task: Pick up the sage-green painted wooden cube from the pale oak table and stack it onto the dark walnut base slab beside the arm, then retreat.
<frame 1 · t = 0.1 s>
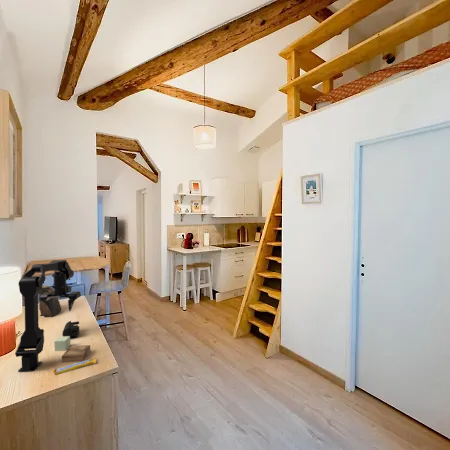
hand: (61, 311, 146), 15 cm above the table, fingers open, 9 cm apart
owl: (51, 314, 181), on the table
block: (62, 348, 135), on the table
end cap: (71, 336, 149), on the table
base: (76, 356, 128), on the table
candy bar: (75, 368, 119), on the table
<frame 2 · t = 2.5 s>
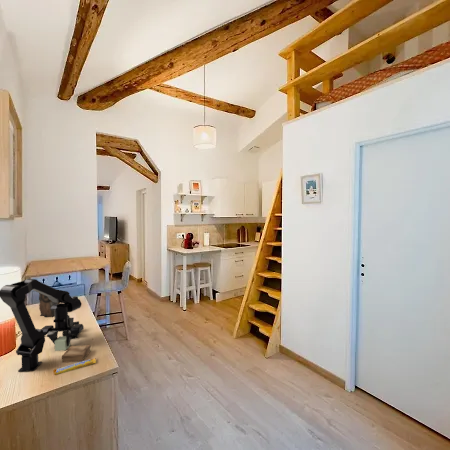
hand: (62, 346, 135), 1 cm above the table, fingers closed on block, 5 cm apart
block: (62, 348, 135), on the table, touching gripper
everything else where it was.
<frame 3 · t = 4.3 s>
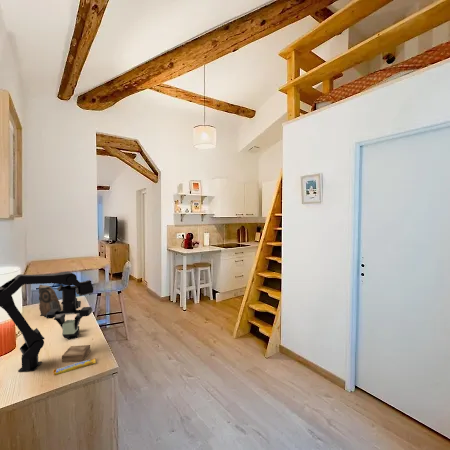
hand: (70, 329, 130), 12 cm above the table, fingers closed on block, 5 cm apart
block: (70, 331, 130), point 10 cm above the table, touching gripper
everything else where it was.
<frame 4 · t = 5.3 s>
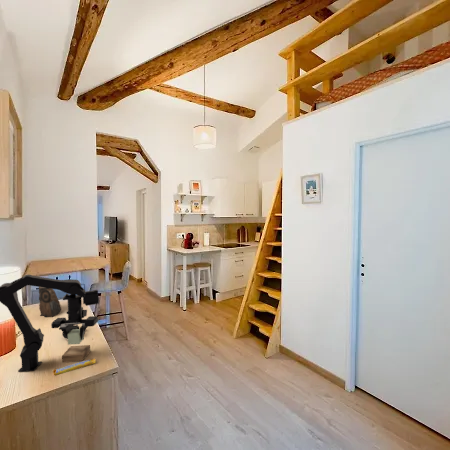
hand: (75, 339, 127), 8 cm above the table, fingers closed on block, 5 cm apart
block: (76, 341, 127), point 7 cm above the table, touching gripper
everything else where it was.
when the fingers open (5 cm above the table, at t = 6.1 s): block drops 1 cm, resting on base.
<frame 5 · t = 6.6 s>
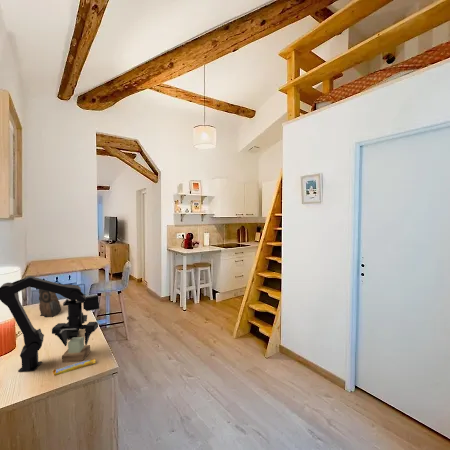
hand: (76, 345, 127), 5 cm above the table, fingers open, 9 cm apart
block: (76, 350, 128), point 3 cm above the table, touching base
everything else where it was.
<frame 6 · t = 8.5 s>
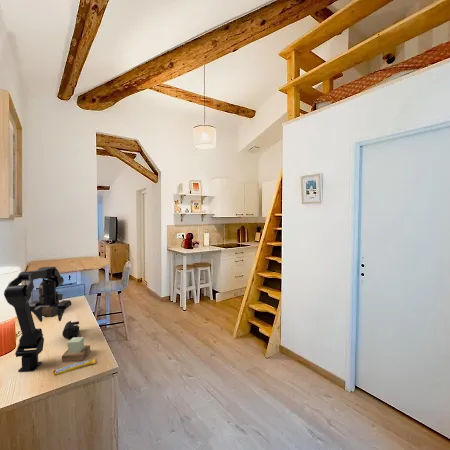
hand: (50, 321, 137), 13 cm above the table, fingers open, 9 cm apart
nothing on the table moved.
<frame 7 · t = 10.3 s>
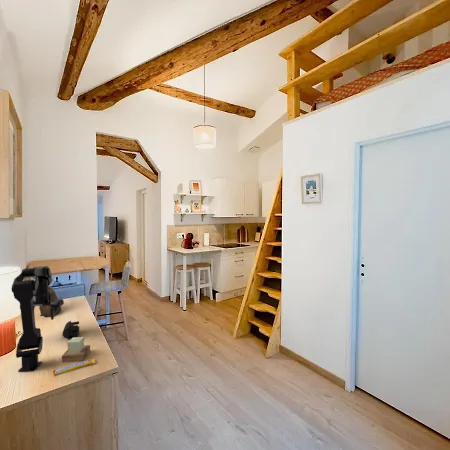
hand: (43, 320, 139), 12 cm above the table, fingers open, 9 cm apart
nothing on the table moved.
at the end: block 0.1 cm off-centre on the base, point 3.1 cm above the base's base; block touching base; the gripper is holding nothing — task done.
